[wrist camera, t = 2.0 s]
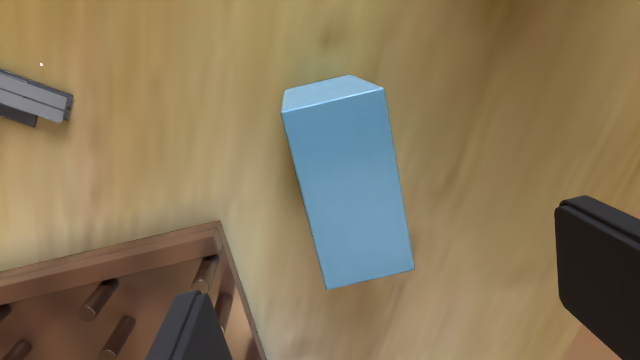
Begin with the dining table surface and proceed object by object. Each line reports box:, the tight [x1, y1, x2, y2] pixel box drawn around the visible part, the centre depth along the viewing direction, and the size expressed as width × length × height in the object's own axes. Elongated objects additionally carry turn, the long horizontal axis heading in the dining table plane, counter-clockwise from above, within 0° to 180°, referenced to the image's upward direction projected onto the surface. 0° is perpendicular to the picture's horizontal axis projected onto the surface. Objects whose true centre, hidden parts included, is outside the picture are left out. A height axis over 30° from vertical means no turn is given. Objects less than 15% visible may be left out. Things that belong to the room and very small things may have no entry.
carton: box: [281, 74, 415, 290], centre depth 21 cm, size 8×4×9 cm, turn 13°
